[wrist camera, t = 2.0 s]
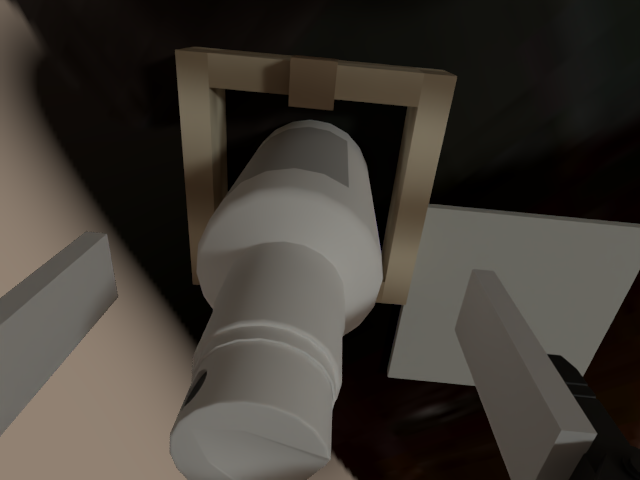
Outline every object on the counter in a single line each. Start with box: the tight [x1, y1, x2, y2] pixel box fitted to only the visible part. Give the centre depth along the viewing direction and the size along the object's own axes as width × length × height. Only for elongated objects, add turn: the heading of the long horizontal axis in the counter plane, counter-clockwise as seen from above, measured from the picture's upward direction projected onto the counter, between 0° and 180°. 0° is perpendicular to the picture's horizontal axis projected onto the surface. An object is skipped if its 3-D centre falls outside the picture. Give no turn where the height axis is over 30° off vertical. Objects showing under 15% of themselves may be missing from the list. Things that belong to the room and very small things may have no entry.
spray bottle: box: [170, 120, 383, 480], centre depth 16 cm, size 7×7×18 cm
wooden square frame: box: [175, 47, 457, 305], centre depth 22 cm, size 14×13×4 cm
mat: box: [387, 204, 640, 386], centre depth 28 cm, size 14×14×1 cm
